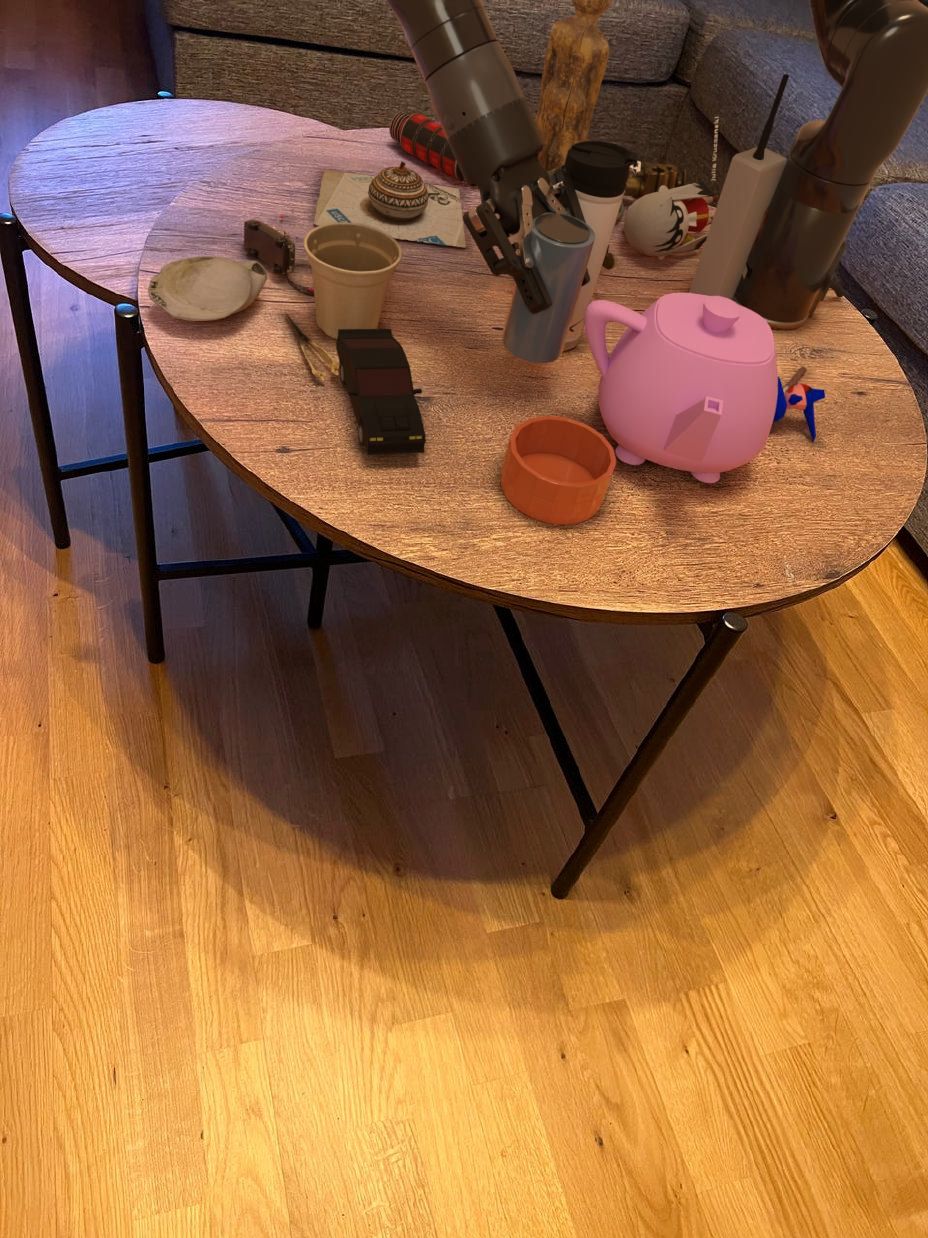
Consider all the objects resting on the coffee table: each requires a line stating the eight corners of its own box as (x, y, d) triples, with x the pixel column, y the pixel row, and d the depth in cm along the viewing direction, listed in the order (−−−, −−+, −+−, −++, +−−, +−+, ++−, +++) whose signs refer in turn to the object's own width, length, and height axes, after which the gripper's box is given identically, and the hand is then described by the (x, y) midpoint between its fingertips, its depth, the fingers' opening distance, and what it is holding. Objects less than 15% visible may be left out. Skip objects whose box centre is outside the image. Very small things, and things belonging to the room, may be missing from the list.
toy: (736, 246, 124) (662, 269, 116) (675, 239, 130) (601, 261, 122) (745, 114, 116) (667, 130, 108) (680, 114, 122) (601, 128, 114)
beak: (277, 318, 99) (274, 306, 98) (301, 311, 100) (299, 299, 99) (317, 387, 93) (315, 374, 92) (343, 379, 93) (342, 367, 92)
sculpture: (572, 242, 120) (646, -40, 97) (548, 260, 116) (619, -29, 93) (525, 220, 121) (586, -62, 99) (499, 237, 117) (558, -52, 95)
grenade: (421, 118, 131) (508, 163, 126) (404, 153, 132) (490, 199, 127) (396, 99, 125) (487, 145, 120) (379, 136, 126) (468, 183, 121)
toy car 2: (357, 467, 86) (362, 422, 82) (326, 361, 95) (330, 316, 92) (430, 464, 88) (438, 419, 84) (393, 359, 97) (398, 315, 93)
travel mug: (577, 359, 103) (636, 169, 88) (517, 342, 103) (566, 150, 88) (584, 329, 107) (641, 144, 93) (526, 313, 107) (574, 125, 93)
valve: (569, 192, 133) (573, 152, 130) (677, 197, 133) (684, 158, 130) (573, 208, 127) (578, 167, 124) (686, 213, 128) (694, 173, 125)
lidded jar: (466, 250, 113) (475, 192, 109) (310, 227, 111) (313, 166, 107) (465, 201, 125) (474, 146, 120) (324, 179, 123) (327, 122, 118)
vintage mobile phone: (736, 299, 117) (818, 75, 98) (711, 311, 114) (791, 83, 96) (712, 285, 118) (788, 62, 100) (687, 296, 116) (760, 69, 97)
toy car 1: (281, 241, 100) (345, 235, 104) (220, 204, 106) (283, 199, 111) (279, 279, 102) (342, 271, 107) (220, 240, 108) (281, 234, 113)
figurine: (765, 389, 96) (743, 428, 99) (836, 407, 97) (812, 445, 100) (758, 362, 99) (737, 401, 102) (827, 380, 100) (804, 417, 103)
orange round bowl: (570, 447, 93) (582, 409, 90) (620, 513, 88) (635, 475, 85) (483, 463, 89) (492, 424, 86) (530, 533, 84) (541, 494, 81)
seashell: (288, 285, 95) (285, 327, 99) (251, 235, 98) (249, 278, 102) (171, 308, 89) (172, 351, 93) (135, 254, 93) (138, 298, 97)
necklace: (292, 300, 102) (292, 292, 101) (282, 265, 105) (282, 256, 105) (331, 299, 103) (332, 291, 102) (320, 264, 107) (320, 256, 106)
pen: (771, 413, 102) (775, 406, 101) (764, 410, 102) (768, 402, 101) (808, 369, 109) (812, 362, 108) (801, 366, 109) (805, 359, 108)
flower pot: (291, 300, 101) (294, 220, 95) (379, 298, 104) (388, 221, 98) (310, 354, 96) (315, 273, 89) (403, 350, 99) (413, 272, 92)
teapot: (541, 490, 88) (584, 347, 77) (563, 367, 101) (602, 230, 90) (753, 541, 88) (827, 406, 77) (747, 412, 101) (809, 281, 90)
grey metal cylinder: (544, 324, 98) (575, 208, 89) (573, 359, 95) (608, 243, 86) (492, 330, 96) (518, 212, 87) (519, 367, 93) (549, 247, 84)
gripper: (464, 114, 78) (550, 312, 83) (560, 78, 87) (633, 259, 92) (404, 154, 83) (489, 337, 89) (501, 116, 92) (572, 285, 97)
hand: (562, 297), depth 90 cm, fingers closed on grey metal cylinder, 6 cm apart
